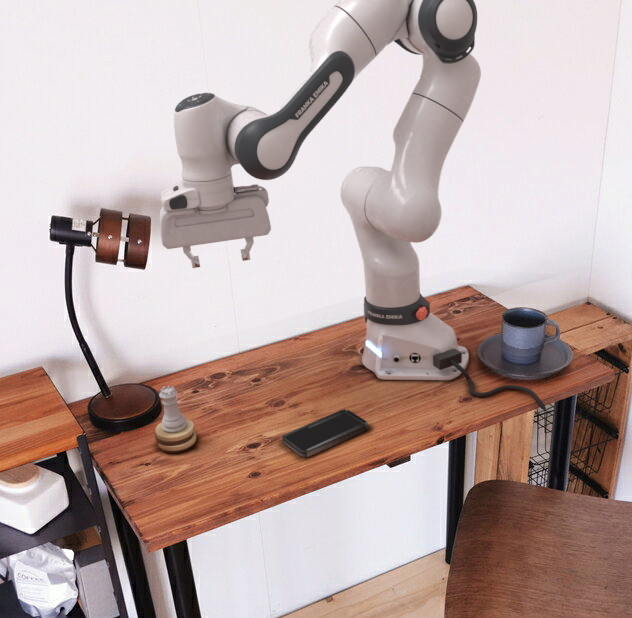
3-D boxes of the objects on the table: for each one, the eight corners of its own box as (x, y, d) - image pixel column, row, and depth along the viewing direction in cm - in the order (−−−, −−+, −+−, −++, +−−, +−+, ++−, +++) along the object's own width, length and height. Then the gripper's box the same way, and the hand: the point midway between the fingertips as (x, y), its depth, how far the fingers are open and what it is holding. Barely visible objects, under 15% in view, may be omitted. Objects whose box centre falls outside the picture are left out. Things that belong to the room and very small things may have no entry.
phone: (370, 423, 169) (303, 453, 161) (370, 429, 169) (303, 458, 162) (345, 407, 174) (279, 435, 167) (345, 412, 175) (280, 440, 167)
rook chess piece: (181, 434, 164) (174, 396, 160) (158, 432, 165) (150, 394, 161) (190, 421, 168) (183, 383, 164) (168, 420, 169) (160, 382, 165)
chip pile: (204, 435, 170) (202, 419, 169) (186, 457, 165) (183, 440, 163) (169, 430, 173) (165, 414, 171) (149, 452, 167) (145, 435, 165)
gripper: (264, 178, 168) (273, 249, 176) (152, 192, 165) (166, 264, 172) (269, 187, 163) (278, 260, 170) (153, 203, 160) (168, 277, 167)
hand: (221, 263), depth 171 cm, fingers open, 8 cm apart
